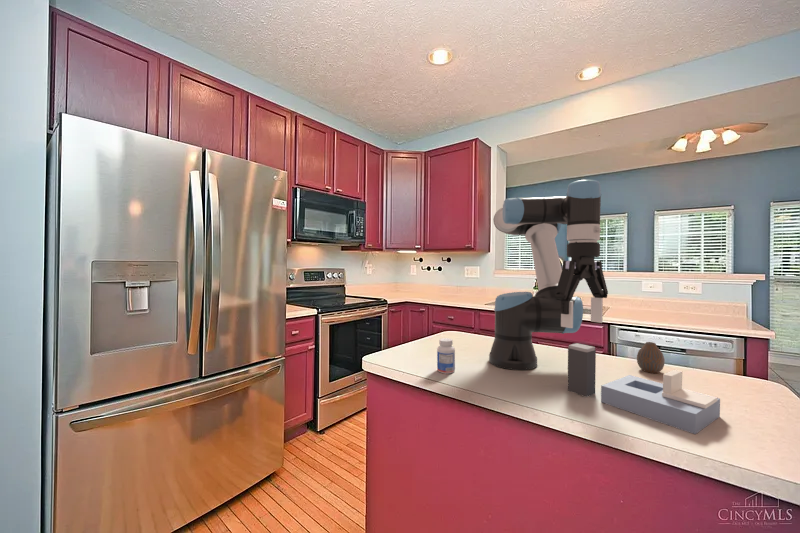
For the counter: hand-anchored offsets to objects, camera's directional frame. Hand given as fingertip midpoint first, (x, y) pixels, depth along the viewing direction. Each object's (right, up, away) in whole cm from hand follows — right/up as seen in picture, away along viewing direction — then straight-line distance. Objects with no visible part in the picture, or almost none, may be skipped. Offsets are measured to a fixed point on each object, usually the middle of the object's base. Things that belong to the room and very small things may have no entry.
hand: (582, 324), depth 88 cm
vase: (+30, -17, +17) cm, 39 cm away
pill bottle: (-33, -17, +17) cm, 41 cm away
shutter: (+16, -14, -14) cm, 25 cm away
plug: (0, -18, +1) cm, 18 cm away
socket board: (+12, -18, -9) cm, 24 cm away
